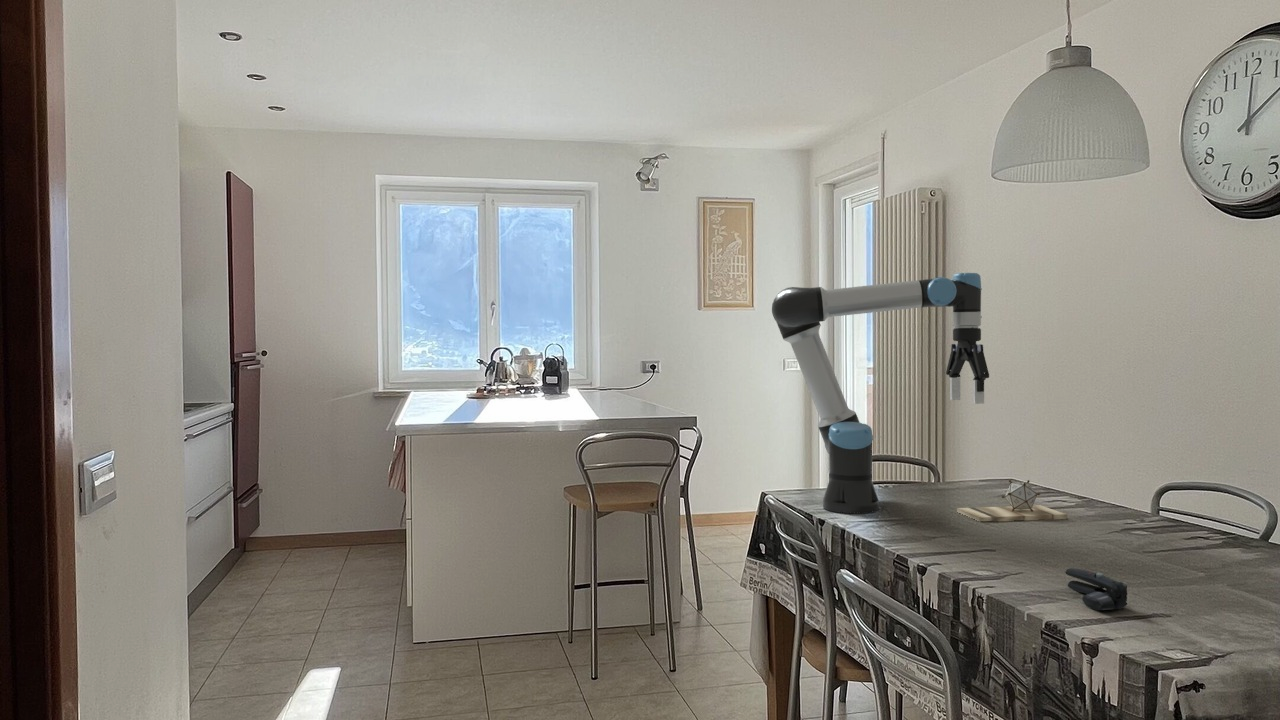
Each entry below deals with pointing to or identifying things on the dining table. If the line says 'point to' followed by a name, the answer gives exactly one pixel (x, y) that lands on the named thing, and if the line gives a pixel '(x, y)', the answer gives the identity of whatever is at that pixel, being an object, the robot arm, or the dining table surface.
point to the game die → (1020, 495)
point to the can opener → (1099, 590)
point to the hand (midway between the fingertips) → (966, 401)
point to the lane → (1011, 513)
